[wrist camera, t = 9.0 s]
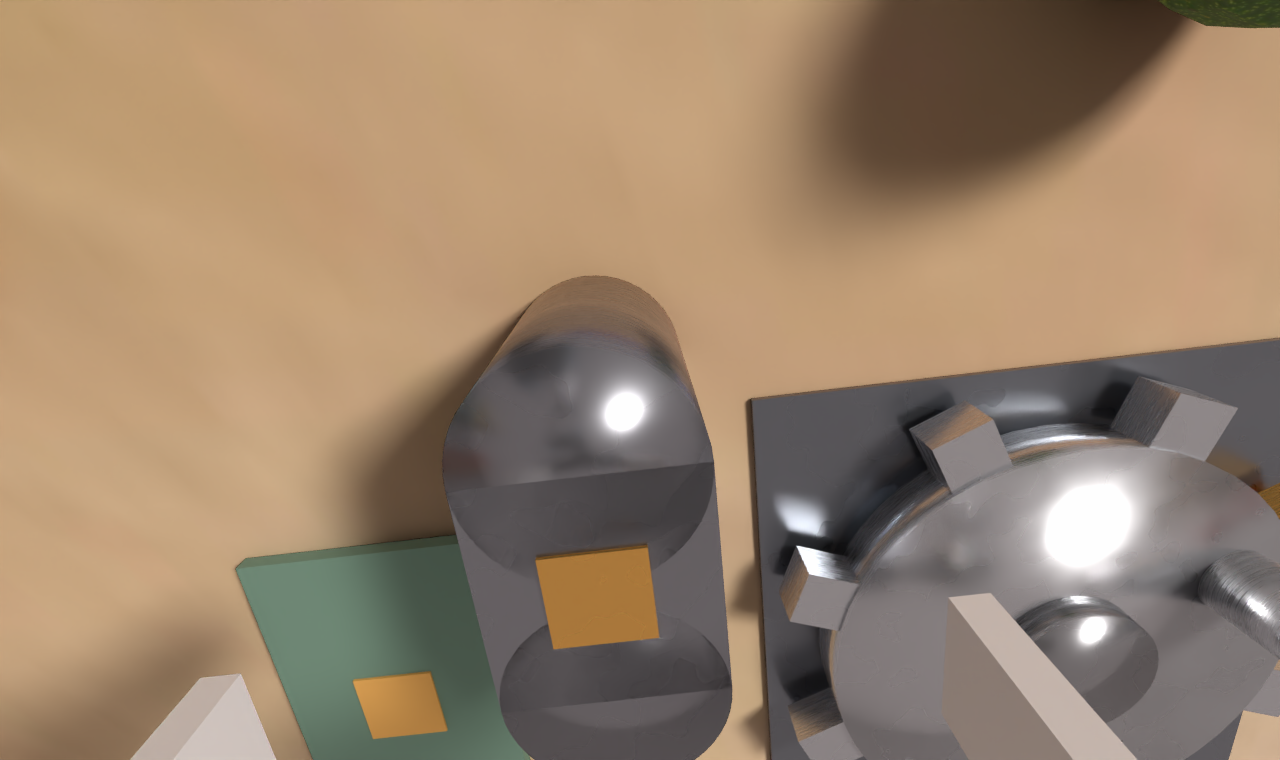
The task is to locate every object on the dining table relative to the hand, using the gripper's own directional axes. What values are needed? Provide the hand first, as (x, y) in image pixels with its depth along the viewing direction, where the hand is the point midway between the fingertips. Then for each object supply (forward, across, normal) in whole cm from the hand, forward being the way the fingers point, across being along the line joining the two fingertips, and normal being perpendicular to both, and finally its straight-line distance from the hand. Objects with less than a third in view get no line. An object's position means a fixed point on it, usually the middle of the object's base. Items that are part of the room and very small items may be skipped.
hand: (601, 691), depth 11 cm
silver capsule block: (+10, 0, +1) cm, 10 cm away
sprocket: (+10, +15, -8) cm, 20 cm away
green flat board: (+10, -10, -9) cm, 17 cm away
